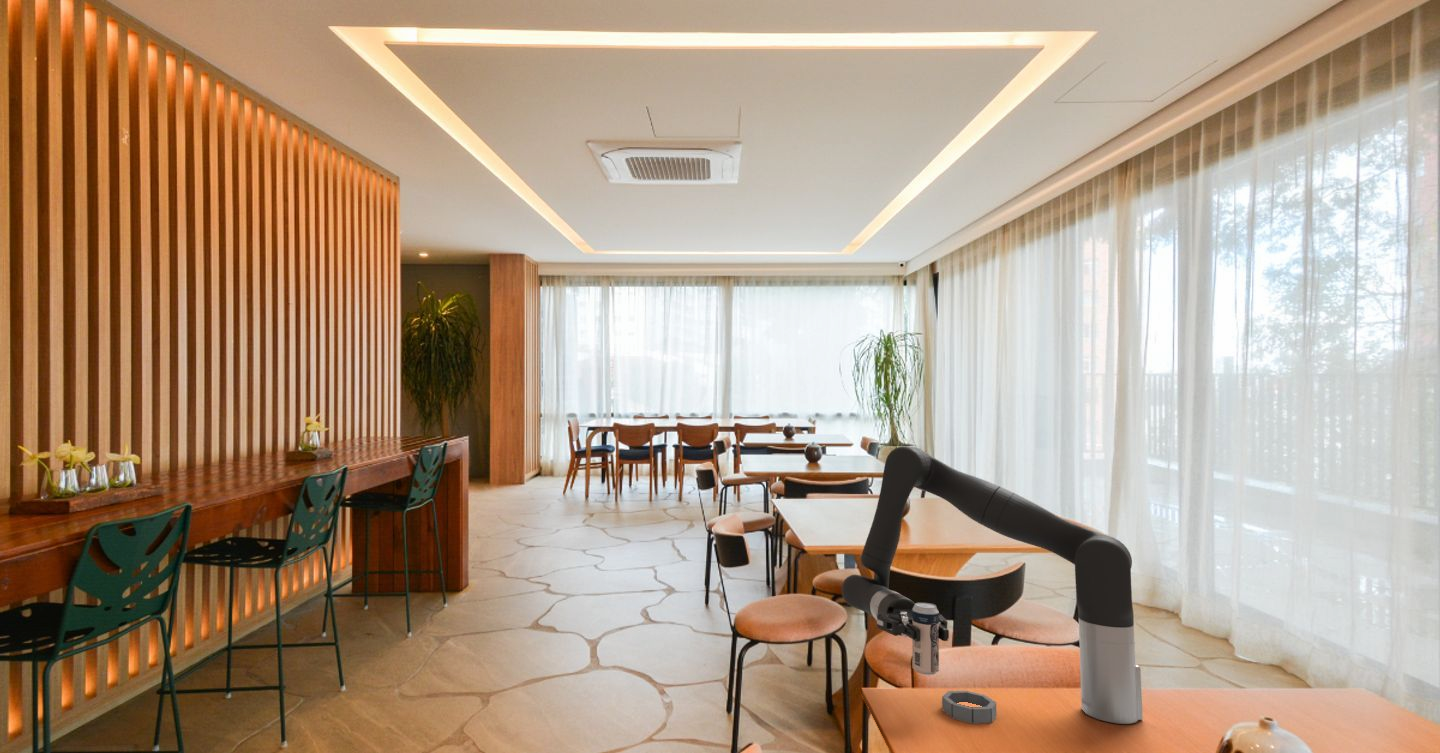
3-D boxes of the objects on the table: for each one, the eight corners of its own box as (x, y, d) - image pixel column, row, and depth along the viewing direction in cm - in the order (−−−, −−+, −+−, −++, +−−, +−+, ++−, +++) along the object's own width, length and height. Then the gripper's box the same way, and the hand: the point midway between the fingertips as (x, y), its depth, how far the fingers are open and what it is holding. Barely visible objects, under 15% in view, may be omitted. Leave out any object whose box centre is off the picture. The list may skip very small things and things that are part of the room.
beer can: (940, 677, 118) (940, 609, 120) (913, 674, 119) (913, 607, 121) (937, 668, 123) (937, 603, 124) (911, 665, 124) (911, 601, 125)
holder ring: (978, 703, 128) (978, 690, 128) (1005, 722, 119) (1004, 708, 119) (935, 704, 126) (935, 691, 127) (959, 724, 117) (959, 709, 118)
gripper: (861, 593, 135) (895, 615, 119) (926, 592, 138) (968, 614, 121) (861, 630, 135) (895, 657, 118) (926, 629, 137) (968, 656, 120)
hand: (932, 635), depth 119 cm, fingers closed on beer can, 4 cm apart
